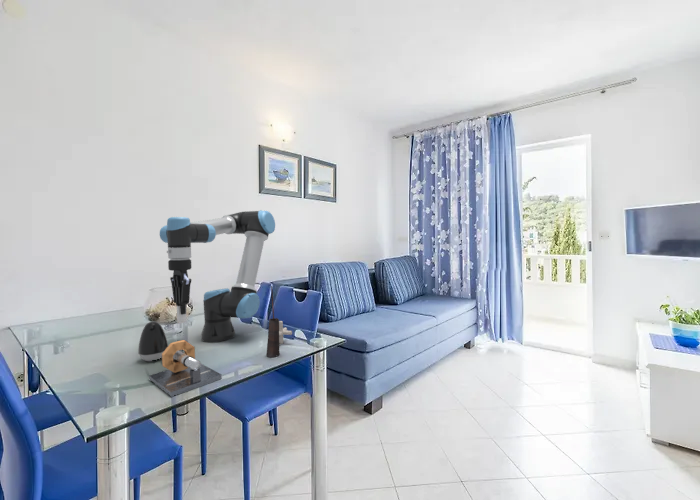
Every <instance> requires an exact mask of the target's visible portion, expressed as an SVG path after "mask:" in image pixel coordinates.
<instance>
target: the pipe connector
mask: <svg viewBox="0 0 700 500" xmlns="http://www.w3.org/2000/svg"><path fill="white" fill-rule="evenodd" d="M284 335H286V336H287V335H288V336H292V335H293V331H292V330H288V328H287V327H284V323H283V321H282V320H279V343H280V344H279V345H284Z"/></svg>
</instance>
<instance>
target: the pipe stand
mask: <svg viewBox="0 0 700 500" xmlns="http://www.w3.org/2000/svg"><path fill="white" fill-rule="evenodd" d="M173 362H175V363H176V362H180V363H182V364H183V365H184V366H186V367H188V368H187V369H185V370H182V371H179V372H176V373H174V372H172V371H170V370H169V369H166V370H162V371H160V372H159V371H158V372H156V373H153V374H150V375H148V380H149V379H150V380H151V381H153V382H154V383H155V384H156V385H158V386H159V387H160V388H161V389H162V391H163V390H164V391H165V392H166V393H165V392H164V391H163V392H164V393H165V394H167V393H168V394H169V395H170V396H171V398H173V397H175V396H174V395H176V396H178V395H177V394H179V395H181V394H184V393H186V392H189V391H192V390H194V389H197V388H200V387H202V386H205V385H208V384H211V383H214V382H216V381H220V380H221V379H222V374H221V373H219V372H218V371H216V370H214V369H212V368H210V367H208V366H206V365H205V364H202V363H201V361H199V360H197V359H196V358H195V359H194V358H193V357H192V356H188V355H186V354H185V352H183V351H181V350H179V351H177V352H176V353H175V354H174V355H173ZM150 380H149V381H150ZM151 381H150V382H151ZM154 383H153V384H154ZM155 384H154V385H155ZM156 385H155V386H156ZM158 386H157V387H158ZM159 387H158V388H159ZM160 388H159V389H160ZM168 394H167V395H168ZM169 395H168V396H169ZM170 396H169V397H170Z"/></svg>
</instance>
